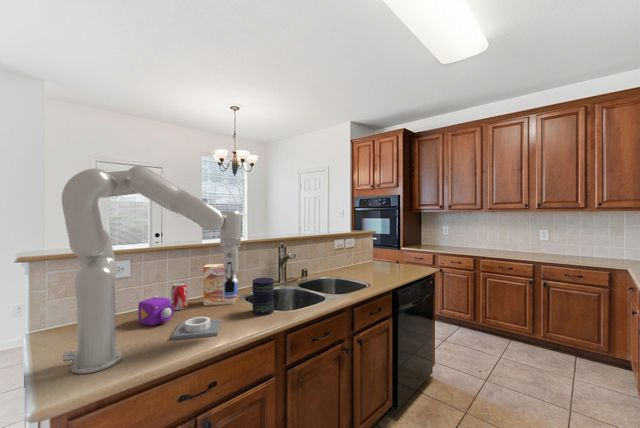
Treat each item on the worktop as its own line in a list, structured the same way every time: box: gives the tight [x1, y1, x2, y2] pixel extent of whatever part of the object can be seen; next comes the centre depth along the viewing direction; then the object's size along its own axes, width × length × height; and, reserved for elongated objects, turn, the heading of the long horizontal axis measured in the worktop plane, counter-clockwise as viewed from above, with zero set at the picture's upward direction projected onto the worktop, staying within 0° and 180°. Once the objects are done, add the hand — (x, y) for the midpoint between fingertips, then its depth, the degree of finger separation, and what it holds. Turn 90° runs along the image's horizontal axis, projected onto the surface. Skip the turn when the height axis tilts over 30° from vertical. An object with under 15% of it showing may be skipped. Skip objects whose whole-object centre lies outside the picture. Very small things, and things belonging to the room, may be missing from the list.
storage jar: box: [251, 277, 275, 317], centre depth 135 cm, size 10×10×15 cm
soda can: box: [170, 281, 189, 311], centre depth 140 cm, size 7×7×12 cm
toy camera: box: [137, 295, 175, 327], centre depth 123 cm, size 11×14×10 cm
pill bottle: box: [223, 272, 239, 301], centre depth 111 cm, size 6×5×10 cm
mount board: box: [170, 316, 222, 341], centre depth 115 cm, size 16×14×4 cm
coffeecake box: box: [203, 263, 237, 306], centre depth 149 cm, size 15×7×20 cm, turn 102°
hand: (230, 289), depth 111 cm, fingers closed on pill bottle, 5 cm apart
